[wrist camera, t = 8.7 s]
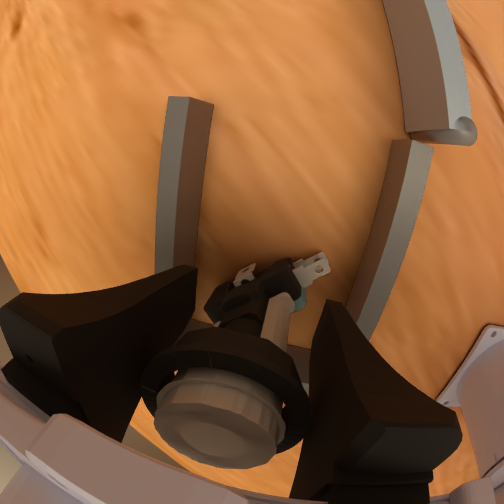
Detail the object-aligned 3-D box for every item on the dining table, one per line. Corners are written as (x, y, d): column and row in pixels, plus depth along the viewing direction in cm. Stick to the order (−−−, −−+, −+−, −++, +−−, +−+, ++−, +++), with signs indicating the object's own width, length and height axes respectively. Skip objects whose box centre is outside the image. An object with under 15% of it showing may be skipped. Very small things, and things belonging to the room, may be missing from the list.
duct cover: (427, 143, 11) (477, 147, 7) (405, 142, 12) (450, 143, 7) (387, -41, 7) (404, -89, 3) (366, -44, 8) (378, -94, 3)
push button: (301, 210, 14) (302, 322, 5) (346, 294, 15) (381, 452, 6) (197, 268, 16) (95, 392, 7) (246, 339, 17) (200, 482, 8)
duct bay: (410, 145, 12) (433, 147, 9) (336, 366, 17) (336, 400, 14) (195, 103, 13) (168, 96, 10) (177, 326, 19) (157, 353, 16)
